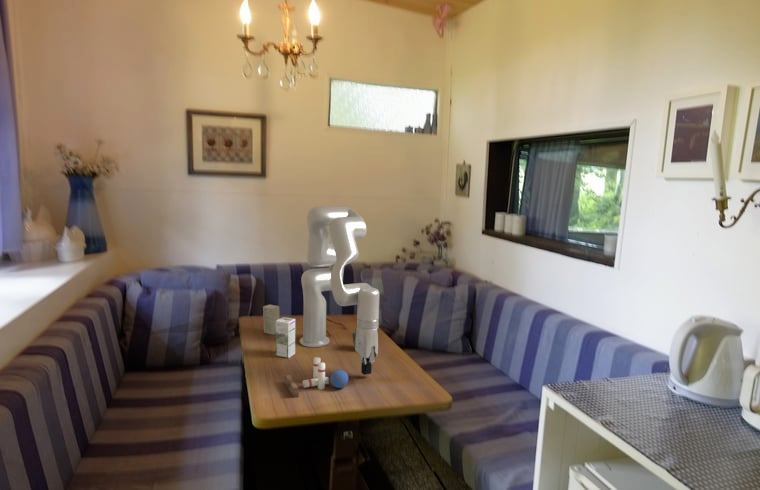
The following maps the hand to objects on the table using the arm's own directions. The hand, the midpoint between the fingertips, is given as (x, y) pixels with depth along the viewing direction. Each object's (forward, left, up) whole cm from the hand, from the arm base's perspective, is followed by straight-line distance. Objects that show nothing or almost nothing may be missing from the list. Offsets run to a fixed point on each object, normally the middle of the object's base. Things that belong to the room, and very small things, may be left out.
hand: (366, 373), depth 169 cm
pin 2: (+2, -17, -2) cm, 18 cm away
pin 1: (-2, -17, -2) cm, 18 cm away
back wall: (0, -27, -2) cm, 27 cm away
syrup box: (-31, -21, -2) cm, 37 cm away
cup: (-26, +9, -2) cm, 28 cm away
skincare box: (-60, -20, -2) cm, 63 cm away
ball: (+4, -12, +2) cm, 12 cm away
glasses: (-55, +5, -2) cm, 55 cm away
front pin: (0, -14, 0) cm, 14 cm away
